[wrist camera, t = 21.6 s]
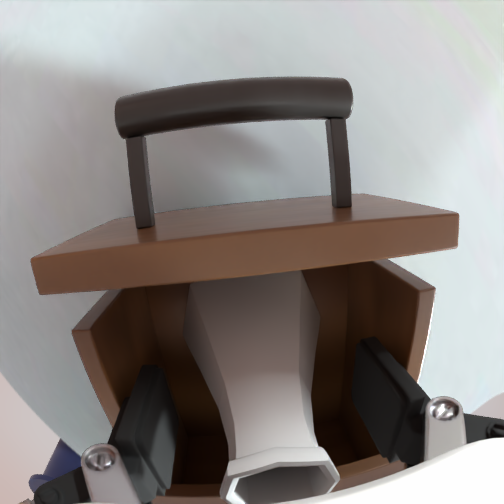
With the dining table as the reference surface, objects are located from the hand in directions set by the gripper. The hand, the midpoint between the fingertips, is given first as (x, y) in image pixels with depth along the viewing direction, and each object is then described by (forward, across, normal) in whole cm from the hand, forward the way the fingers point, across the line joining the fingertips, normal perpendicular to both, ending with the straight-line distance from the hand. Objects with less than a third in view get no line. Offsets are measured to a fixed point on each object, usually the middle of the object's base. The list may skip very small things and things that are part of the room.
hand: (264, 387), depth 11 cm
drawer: (+6, 0, -1) cm, 6 cm away
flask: (+5, 0, 0) cm, 5 cm away
